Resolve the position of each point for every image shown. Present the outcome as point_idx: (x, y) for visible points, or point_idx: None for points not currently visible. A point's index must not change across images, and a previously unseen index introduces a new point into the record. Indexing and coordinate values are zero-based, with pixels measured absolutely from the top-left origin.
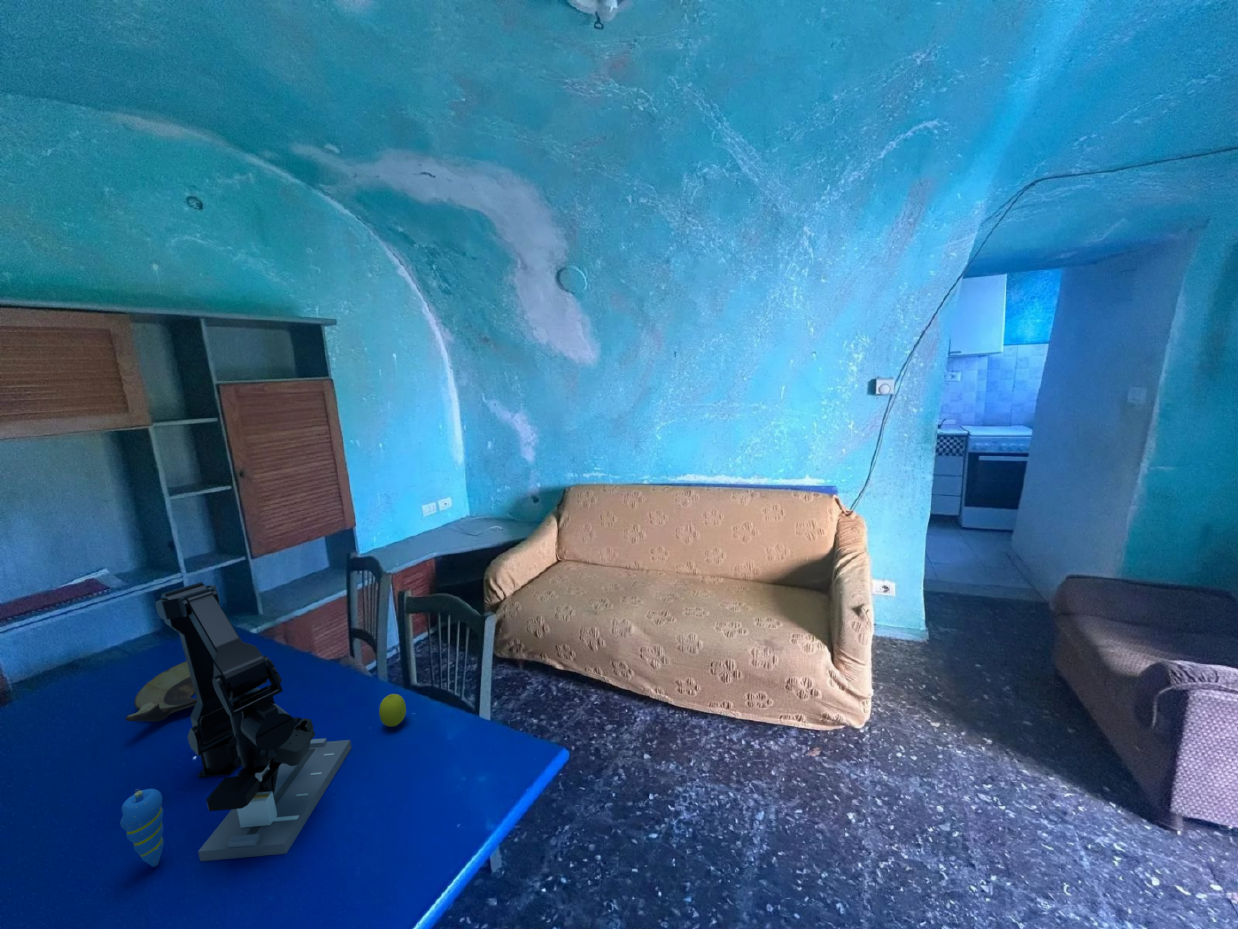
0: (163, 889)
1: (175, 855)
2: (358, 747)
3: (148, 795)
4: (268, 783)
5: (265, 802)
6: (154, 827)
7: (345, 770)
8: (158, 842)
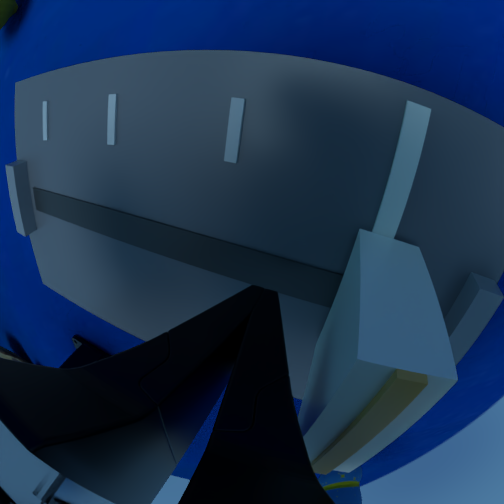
0: (427, 419)
1: None
2: (43, 57)
3: None
4: (268, 421)
5: (453, 368)
6: None
7: (110, 34)
8: (348, 489)
